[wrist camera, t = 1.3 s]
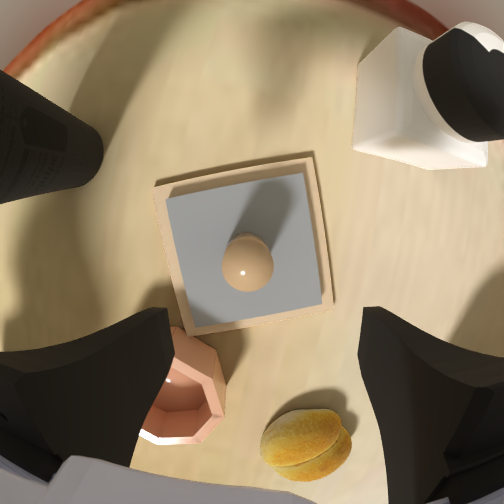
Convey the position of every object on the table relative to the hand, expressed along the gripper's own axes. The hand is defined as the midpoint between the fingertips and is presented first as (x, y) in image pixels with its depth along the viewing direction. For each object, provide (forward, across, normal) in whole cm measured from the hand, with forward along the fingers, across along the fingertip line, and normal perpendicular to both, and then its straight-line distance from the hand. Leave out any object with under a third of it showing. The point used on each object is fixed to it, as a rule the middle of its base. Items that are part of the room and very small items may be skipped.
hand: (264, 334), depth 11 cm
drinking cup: (+10, +14, -8) cm, 19 cm away
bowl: (+9, +8, +10) cm, 16 cm away
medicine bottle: (+14, -10, -10) cm, 19 cm away
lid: (+10, +2, 0) cm, 11 cm away
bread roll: (+10, -3, +18) cm, 21 cm away
